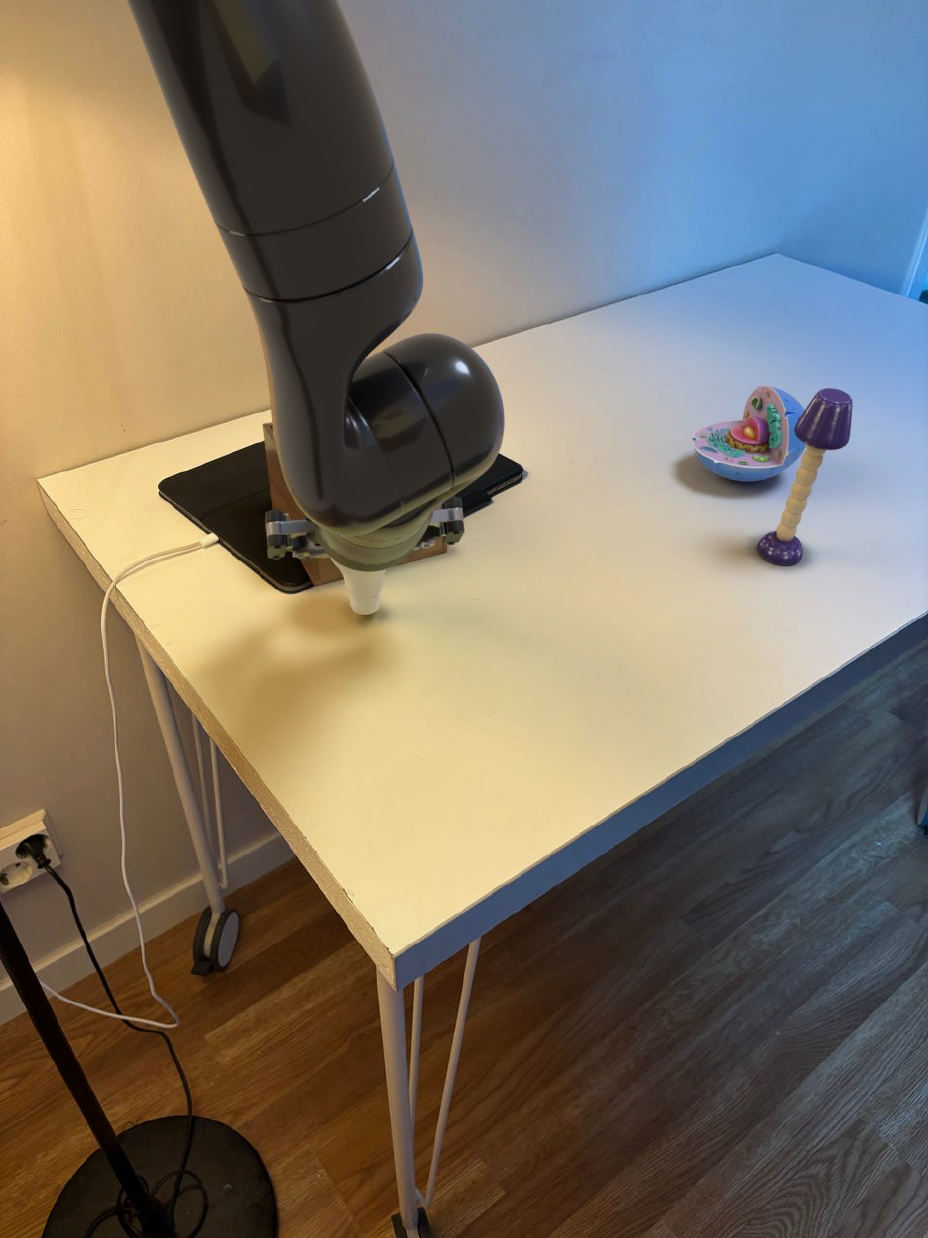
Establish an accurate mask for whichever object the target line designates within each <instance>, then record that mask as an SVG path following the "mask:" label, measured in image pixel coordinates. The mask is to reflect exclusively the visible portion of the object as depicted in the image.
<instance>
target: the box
mask: <svg viewBox="0 0 928 1238" xmlns="http://www.w3.org/2000/svg"><path fill="white" fill-rule="evenodd" d="M262 431H263V441H264V448H265V457H266V466H267V473H268V482H269V490H270V498H271V499H270V500H271V506H272V507H271V508H272V510H274V509H276V510H278V511H283V514H289V516H290V521H296V520H304V519H305V516H306V515H305V514H304V513H303V512H302V511H301V509H300V508H299V507H298V505H297V504H296V503H295V501H294V499H293V498H292V496H291V494H290V492H289V490H288V488H287V486H286V484H285V481H284V478H283V475H282V472H281V469H280V466H279V462H278V457H277V452H276V446H275V441H274V434H273V425H272V421H271V422H266V423H262ZM434 510H438V506H437V507H436V508H435V509H434ZM434 544H435V545H434V546H430V548H424V547H423V549H422V550H421V551H420V552H417V553H410V554H409V555H408V556H407V557H406V558H405V559H404V560H402V561H401V562H400V563H398V564H396V565H395V566H399V565H402V564H406V563H410V562H414V561H418V560H421V559H426V558H430V557H434V556H437V555H441V554H445V553H448V544H443V538H442V539H436V540H434ZM299 561H300V562H301V565H302V566H303V568H304V569H305V571H306V573H307V575H308V577H309V579H310V581H311V582H312V584H313V586H319V585H324V584H327V583H331V582H334V581H339V580H344V577H343V574H342V572H341V571H340V570H339V568H338V567H337V566H336V565H335V564H334V562H333V561H332V560H331V558H330V557H329V558H312V561H309V562H304V559H299Z"/></svg>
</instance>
